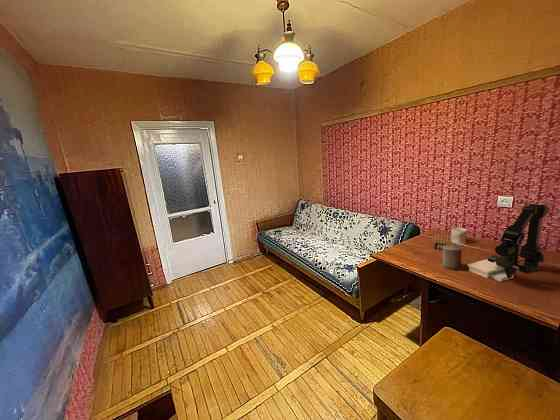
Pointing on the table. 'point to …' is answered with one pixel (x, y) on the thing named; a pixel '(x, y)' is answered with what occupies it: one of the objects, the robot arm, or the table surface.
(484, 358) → the table surface
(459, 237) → the mug
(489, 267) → the cream rectangular slab
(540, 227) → the robot arm
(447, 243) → the ammunition clip
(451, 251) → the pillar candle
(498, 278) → the pale wall plate
